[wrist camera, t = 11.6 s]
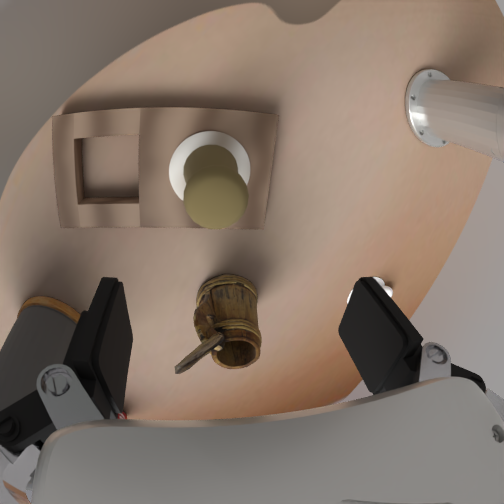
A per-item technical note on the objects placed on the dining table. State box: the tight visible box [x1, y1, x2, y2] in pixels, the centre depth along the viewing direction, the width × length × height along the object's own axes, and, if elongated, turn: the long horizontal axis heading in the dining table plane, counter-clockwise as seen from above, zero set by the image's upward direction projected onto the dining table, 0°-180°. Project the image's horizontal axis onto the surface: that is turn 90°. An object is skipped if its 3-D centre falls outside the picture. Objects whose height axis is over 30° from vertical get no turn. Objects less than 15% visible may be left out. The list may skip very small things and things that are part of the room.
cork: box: [183, 145, 249, 229], centre depth 26 cm, size 6×6×11 cm
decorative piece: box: [0, 296, 80, 491], centre depth 28 cm, size 16×16×30 cm
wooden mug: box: [175, 275, 262, 374], centre depth 34 cm, size 9×14×18 cm, turn 39°
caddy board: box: [52, 107, 279, 229], centre depth 30 cm, size 26×14×3 cm, turn 84°
